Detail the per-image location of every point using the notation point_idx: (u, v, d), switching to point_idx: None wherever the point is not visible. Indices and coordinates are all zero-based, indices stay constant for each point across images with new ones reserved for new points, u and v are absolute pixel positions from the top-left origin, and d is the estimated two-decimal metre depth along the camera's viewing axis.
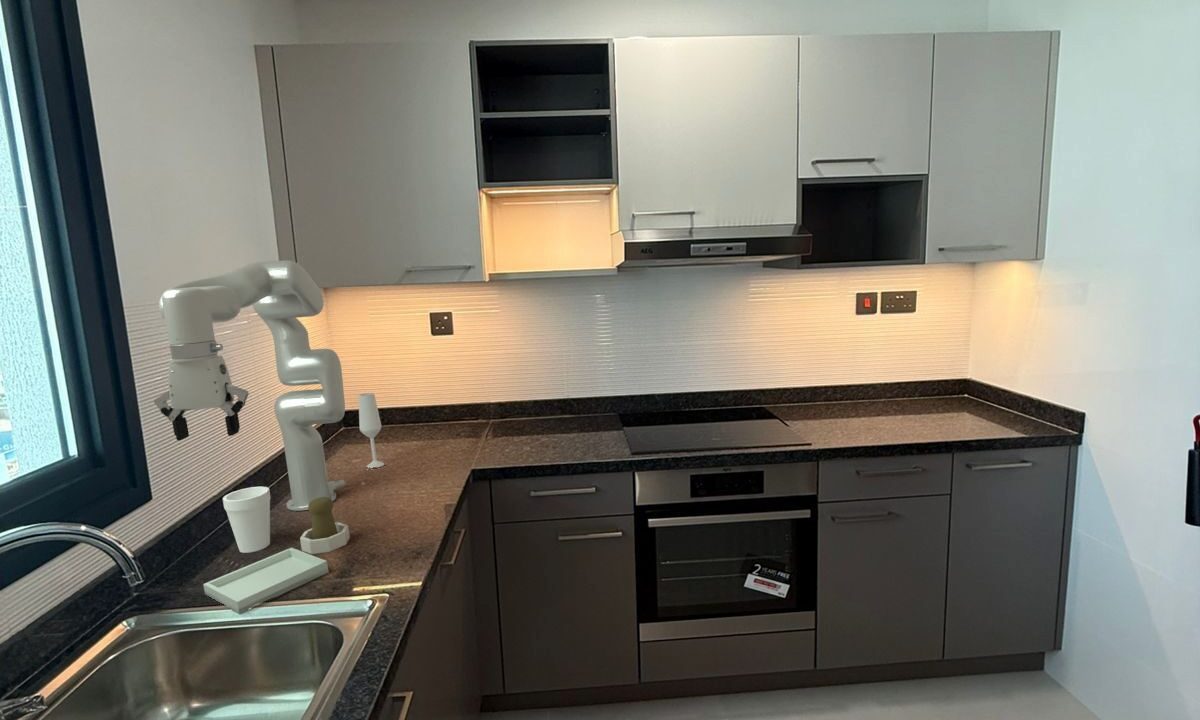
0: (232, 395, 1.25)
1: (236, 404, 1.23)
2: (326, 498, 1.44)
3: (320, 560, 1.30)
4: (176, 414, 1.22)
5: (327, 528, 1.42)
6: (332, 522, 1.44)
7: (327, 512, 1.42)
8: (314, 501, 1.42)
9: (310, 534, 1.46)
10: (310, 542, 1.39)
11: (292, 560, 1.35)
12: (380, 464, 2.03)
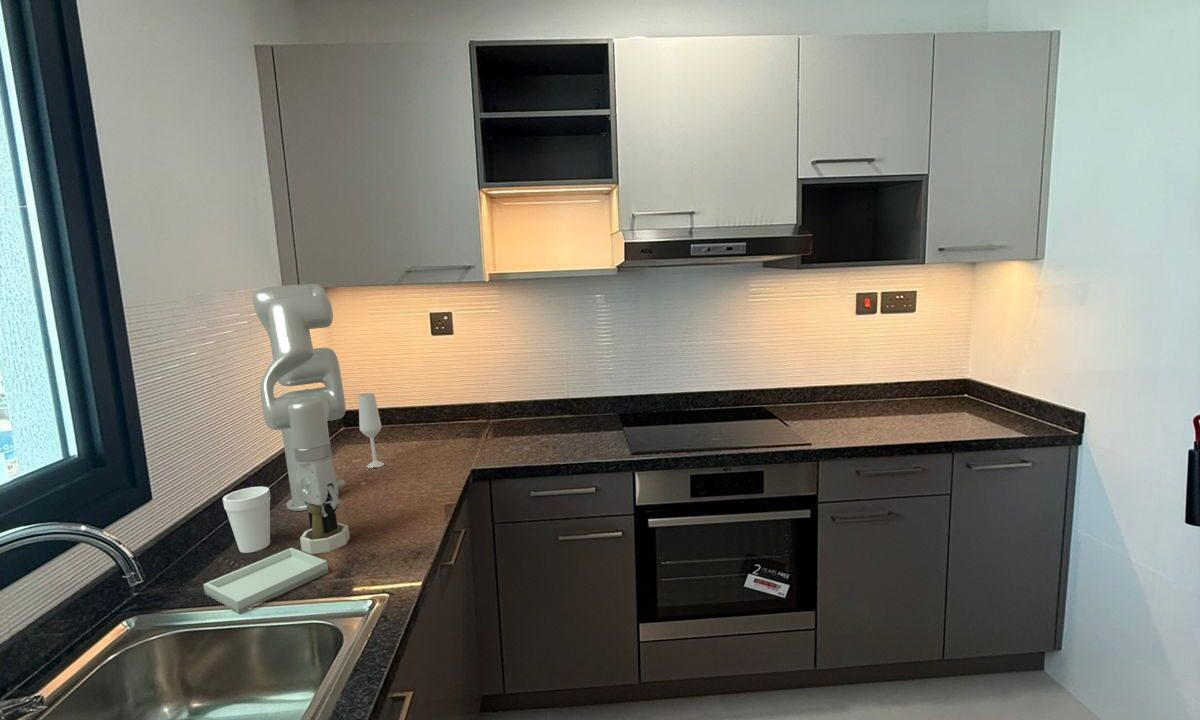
0: None
1: None
2: None
3: (320, 560, 1.30)
4: None
5: None
6: None
7: None
8: None
9: (310, 534, 1.46)
10: (310, 542, 1.39)
11: (292, 560, 1.35)
12: (380, 464, 2.03)
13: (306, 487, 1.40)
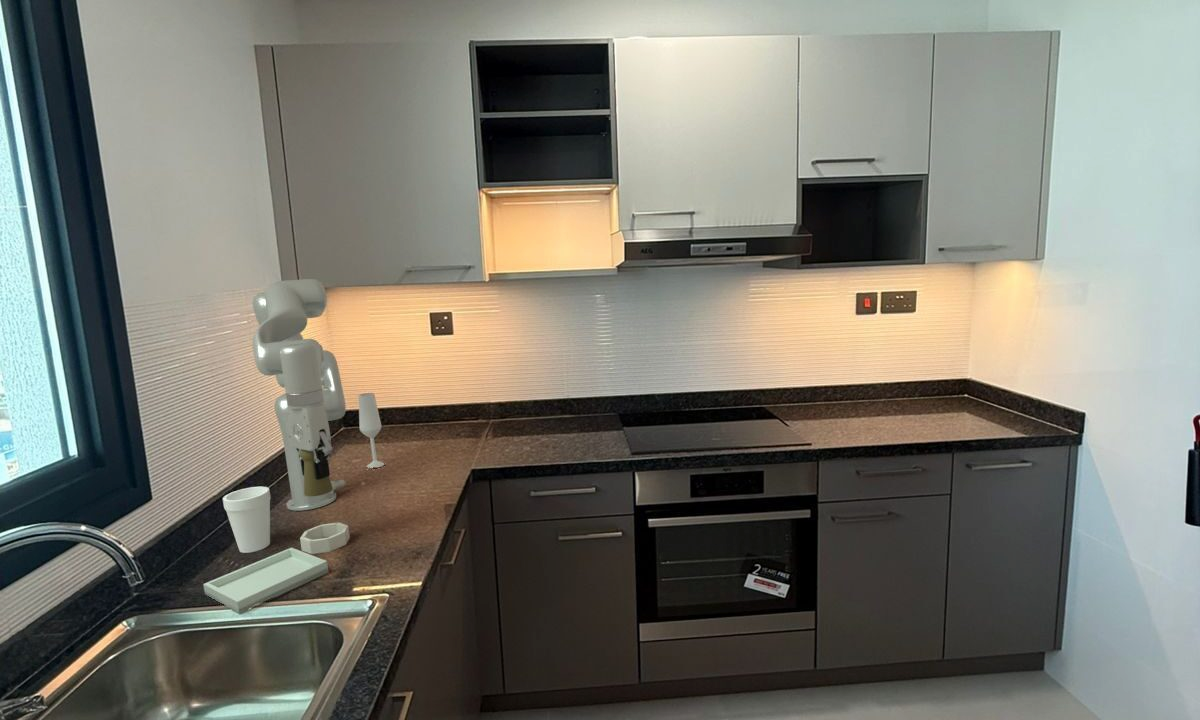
0: None
1: None
2: (318, 445, 1.42)
3: (320, 560, 1.30)
4: None
5: None
6: None
7: None
8: None
9: (310, 534, 1.46)
10: (310, 542, 1.39)
11: (292, 560, 1.35)
12: (380, 464, 2.03)
13: (298, 433, 1.39)
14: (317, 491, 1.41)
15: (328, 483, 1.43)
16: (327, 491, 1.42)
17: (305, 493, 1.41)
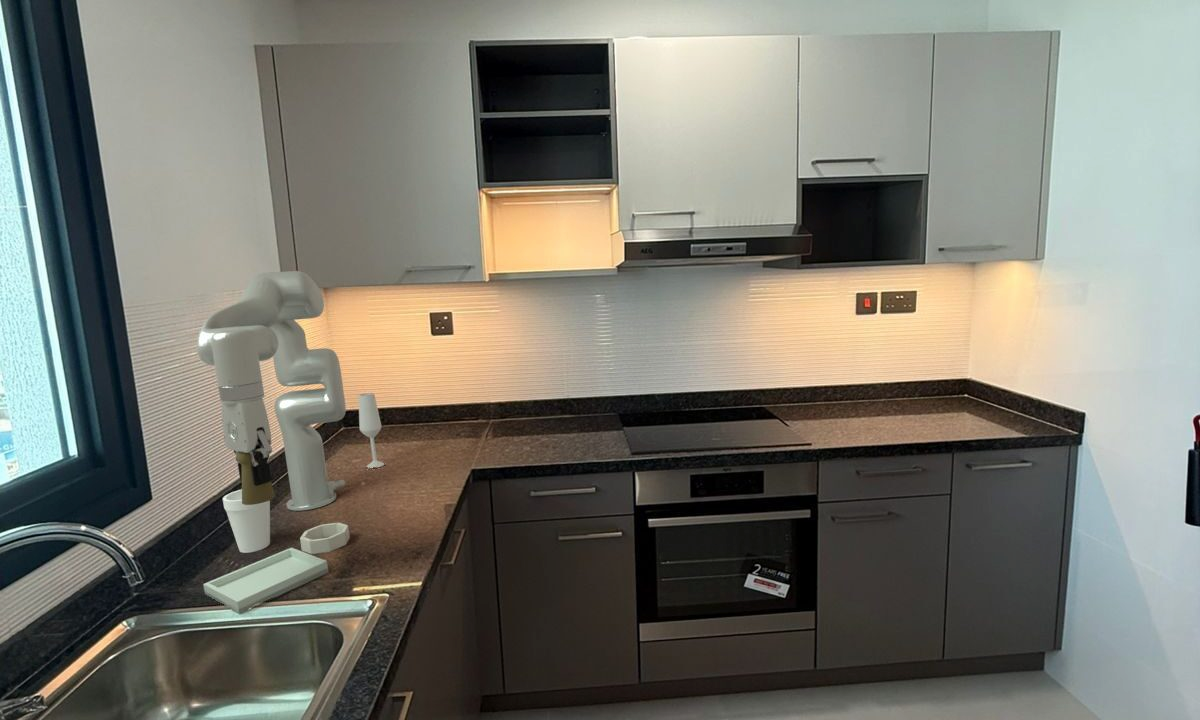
0: None
1: None
2: (258, 446, 1.24)
3: (320, 560, 1.30)
4: None
5: None
6: None
7: None
8: None
9: (310, 534, 1.46)
10: (310, 542, 1.39)
11: (292, 560, 1.35)
12: (380, 464, 2.03)
13: (233, 432, 1.21)
14: (256, 498, 1.23)
15: (270, 489, 1.25)
16: (268, 499, 1.24)
17: (242, 501, 1.23)
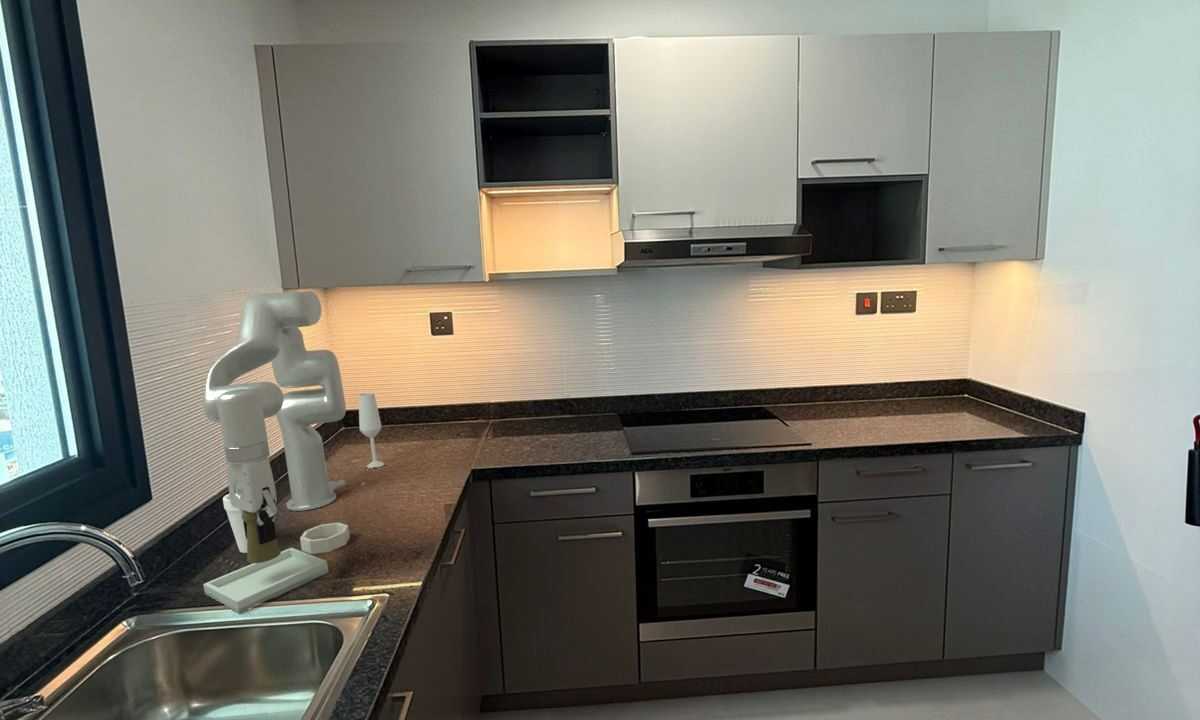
0: None
1: None
2: None
3: (320, 560, 1.30)
4: None
5: None
6: None
7: None
8: None
9: (310, 534, 1.46)
10: (310, 542, 1.39)
11: (292, 560, 1.35)
12: (380, 464, 2.03)
13: (238, 491, 1.22)
14: (262, 557, 1.23)
15: (275, 547, 1.25)
16: (273, 556, 1.25)
17: (248, 559, 1.24)
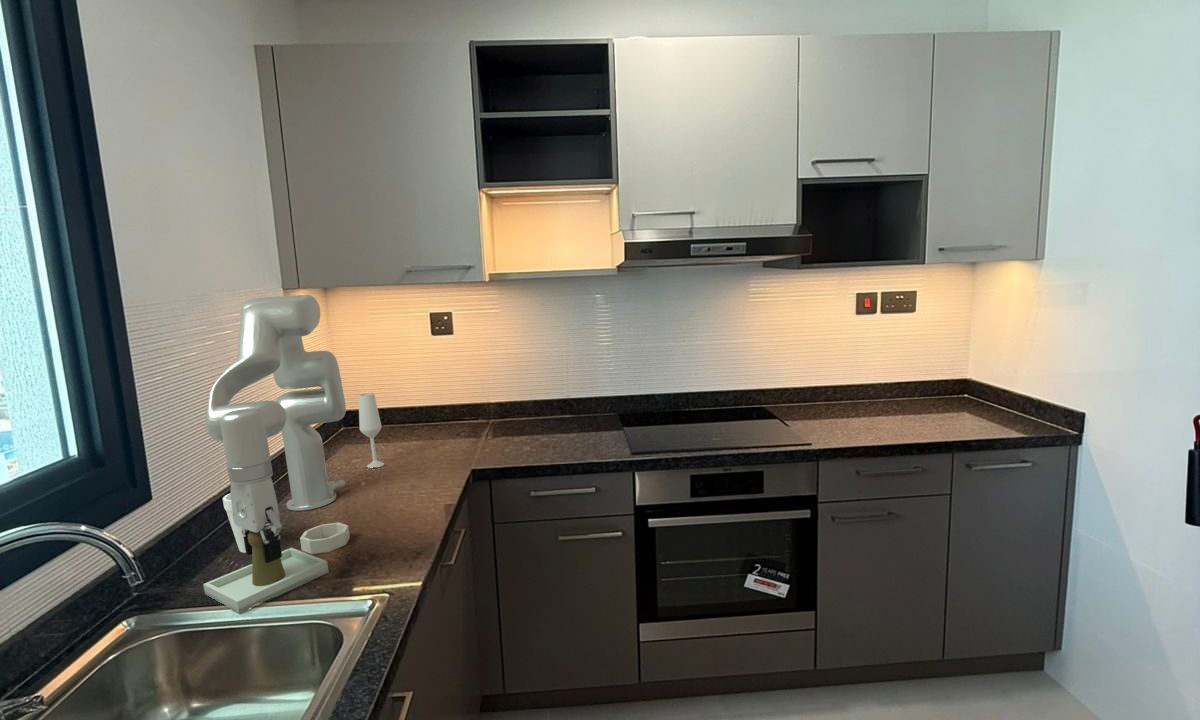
0: None
1: None
2: None
3: (320, 560, 1.30)
4: None
5: None
6: None
7: None
8: None
9: (310, 534, 1.46)
10: (310, 542, 1.39)
11: (292, 560, 1.35)
12: (380, 464, 2.03)
13: (242, 511, 1.22)
14: (267, 579, 1.24)
15: (280, 569, 1.26)
16: (278, 579, 1.26)
17: (253, 582, 1.25)
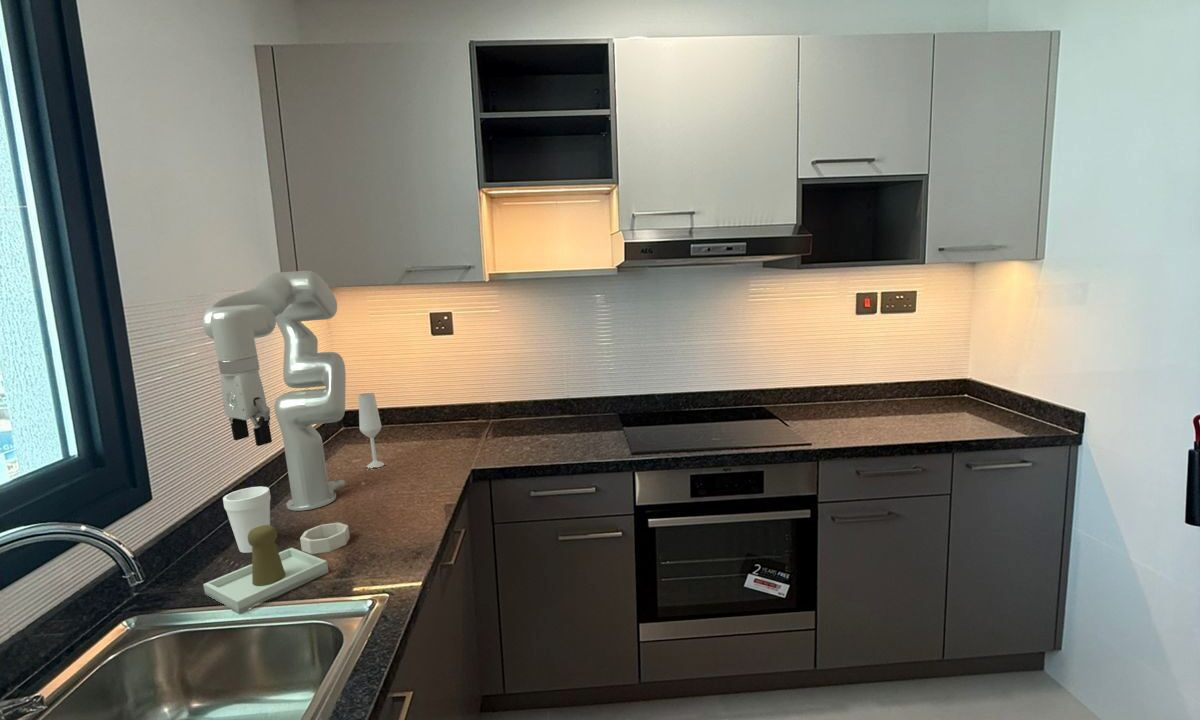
0: None
1: None
2: (268, 527, 1.26)
3: (320, 560, 1.30)
4: None
5: (269, 561, 1.25)
6: (275, 553, 1.26)
7: (269, 543, 1.25)
8: (254, 531, 1.24)
9: (310, 534, 1.46)
10: (310, 542, 1.39)
11: (292, 560, 1.35)
12: (380, 464, 2.03)
13: (232, 401, 1.34)
14: (267, 579, 1.24)
15: (280, 569, 1.26)
16: (278, 579, 1.26)
17: (253, 582, 1.25)
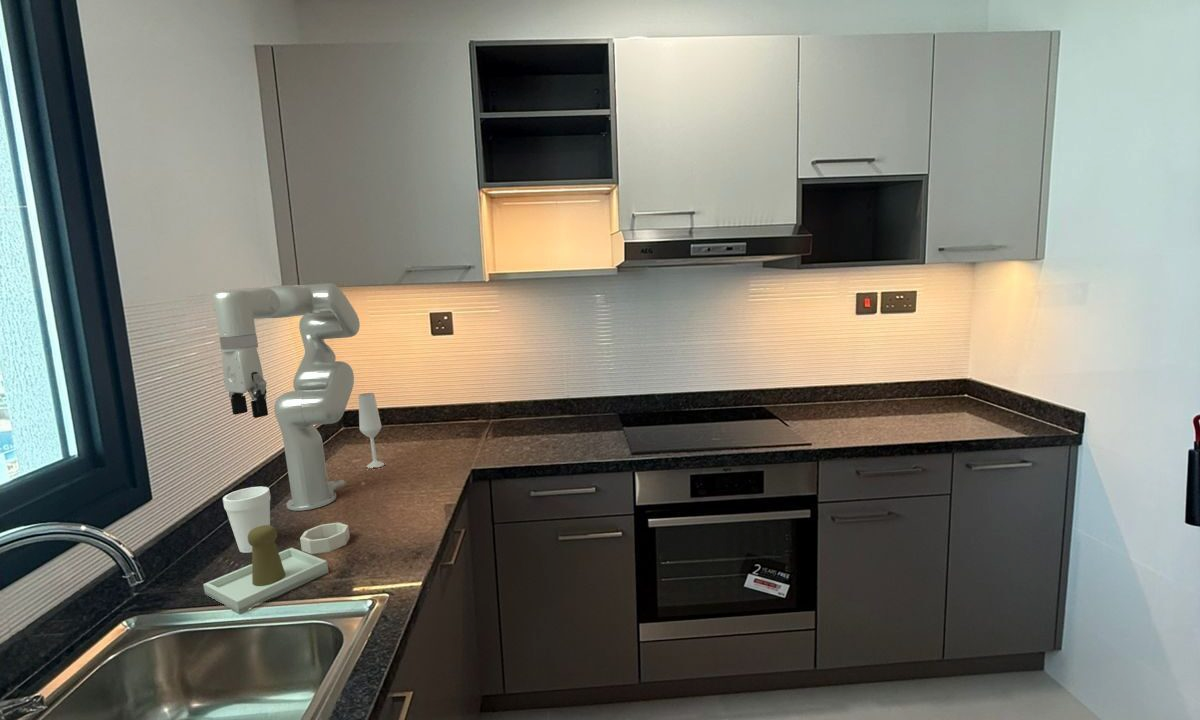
0: None
1: None
2: (268, 527, 1.26)
3: (320, 560, 1.30)
4: None
5: (269, 561, 1.25)
6: (275, 553, 1.26)
7: (269, 543, 1.25)
8: (254, 530, 1.24)
9: (310, 534, 1.46)
10: (310, 542, 1.39)
11: (292, 560, 1.35)
12: (380, 464, 2.03)
13: (231, 376, 1.44)
14: (267, 579, 1.24)
15: (280, 569, 1.26)
16: (278, 579, 1.26)
17: (253, 582, 1.25)
